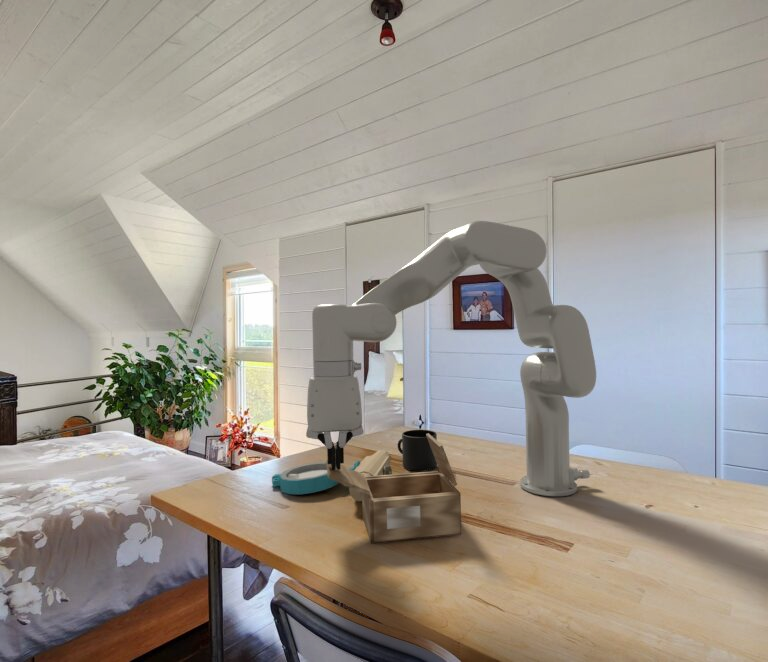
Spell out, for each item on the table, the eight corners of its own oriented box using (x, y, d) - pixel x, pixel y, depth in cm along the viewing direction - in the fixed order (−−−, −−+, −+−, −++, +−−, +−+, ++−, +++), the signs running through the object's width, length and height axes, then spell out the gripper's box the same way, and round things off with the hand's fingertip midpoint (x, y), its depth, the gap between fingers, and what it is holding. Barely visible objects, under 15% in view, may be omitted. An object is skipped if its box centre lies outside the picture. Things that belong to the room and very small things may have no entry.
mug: (407, 458, 135) (406, 427, 135) (443, 464, 127) (442, 432, 127) (388, 466, 127) (387, 433, 127) (425, 473, 120) (424, 439, 120)
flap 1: (363, 474, 93) (327, 459, 92) (370, 491, 83) (329, 474, 82) (362, 477, 93) (326, 461, 91) (368, 494, 83) (328, 477, 82)
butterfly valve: (249, 517, 101) (382, 510, 95) (245, 486, 101) (377, 476, 95) (296, 478, 128) (403, 470, 121) (293, 453, 128) (399, 444, 122)
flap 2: (454, 486, 85) (439, 446, 85) (439, 469, 95) (425, 434, 95) (457, 484, 85) (442, 445, 85) (442, 468, 95) (428, 433, 95)
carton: (441, 507, 97) (440, 470, 97) (463, 536, 83) (462, 494, 83) (362, 514, 95) (361, 476, 95) (371, 546, 81) (370, 502, 81)
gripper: (370, 367, 92) (372, 459, 92) (293, 369, 89) (295, 464, 89) (375, 370, 84) (378, 470, 84) (292, 373, 82) (294, 476, 82)
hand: (335, 467), depth 87 cm, fingers closed
